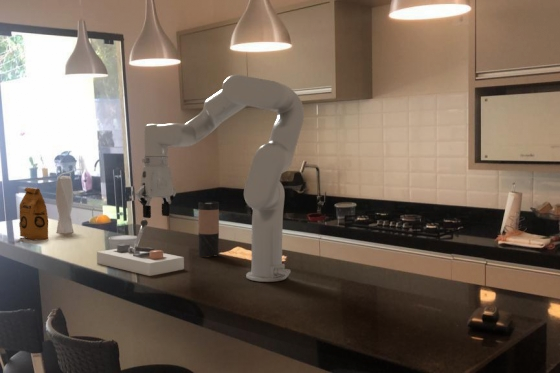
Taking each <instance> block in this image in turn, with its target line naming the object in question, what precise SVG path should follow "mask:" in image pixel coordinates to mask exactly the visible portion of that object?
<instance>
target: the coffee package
mask: <svg viewBox="0 0 560 373" xmlns="http://www.w3.org/2000/svg"><path fill="white" fill-rule="evenodd" d="M24 191H25V194H24V196H23V197H22V199H21V201H20V202H19V223H18V225H19V236H20V237H22V238H26V239H28V240H32V241H41V240H48V239H49V218H48V210H47V206H46V202H45V199H44V198H43V195H42V193H41V190H40V188H34V187H33V188H32V187H25V189H24Z"/></svg>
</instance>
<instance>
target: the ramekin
mask: <svg viewBox="0 0 560 373" xmlns="http://www.w3.org/2000/svg"><path fill="white" fill-rule="evenodd" d="M137 236H138V235H129V234H128V235H126V234H125V235H123V234H122V235H114V236H109V237H108V239H107V240H108V243H109V250H113V249H117V245H118V244H130V247H134V244H135V241H136V239H137Z"/></svg>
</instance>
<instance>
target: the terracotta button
mask: <svg viewBox="0 0 560 373" xmlns="http://www.w3.org/2000/svg"><path fill="white" fill-rule="evenodd" d="M163 253H164V250H160V249H154V250H152V251H150V259H152V260H159V259H163Z"/></svg>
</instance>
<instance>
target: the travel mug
mask: <svg viewBox="0 0 560 373" xmlns="http://www.w3.org/2000/svg"><path fill="white" fill-rule="evenodd" d="M219 209H220V202H218V201H207V202H202V201H199V202H198V225H197V226H198V227H197V232H198V234H197V235H198V238H197V240H198V256H199V255H200V256H214V255H218V256H219V242H220V241H219V239H220V238H219V236H220V213H219V212H220V211H219ZM200 256H199V257H200Z"/></svg>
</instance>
